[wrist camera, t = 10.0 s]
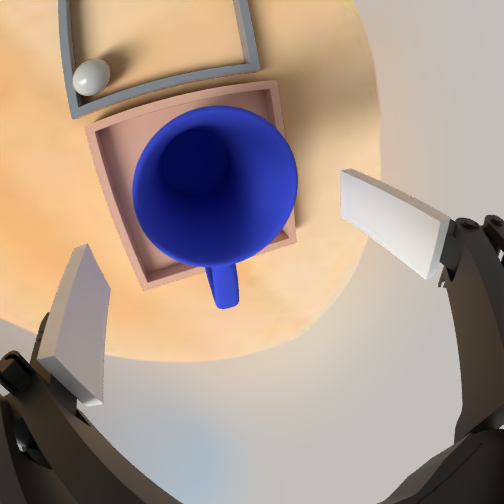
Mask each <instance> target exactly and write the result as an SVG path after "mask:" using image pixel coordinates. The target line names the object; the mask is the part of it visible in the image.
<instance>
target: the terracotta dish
mask: <svg viewBox="0 0 504 504" xmlns="http://www.w3.org/2000/svg"><path fill="white" fill-rule="evenodd" d="M216 105H224V106H233V107H238V108H243V109H246V110H248V111H251V112H253V113H255V114H257V115H259V116H261V117H263V118H264V119H266V120H267V121H268V122H270V123H271V124H272V125H273V126H274V127H275V128H276V129H277V130H278V131H279V132H280V133H281V134H282V136H283V137H284V138H285V140H286V137H285V130H284V122H283V115H282V108H281V102H280V95H279V89H278V82H277V80H269V81H259V82H251V83H243V84H236V85H229V86H223V87H217V88H212V89H206V90H201V91H196V92H192V93H187V94H183V95H179V96H175V97H171V98H167V99H163V100H159V101H156V102H152V103H149V104H145V105H142V106H139V107H136V108H133V109H129V110H126V111H124V112H121V113H118V114H115V115H112V116H109V117H107V118H104V119H102V120H99V121H96V122H94V123H91V124H89V125H87V126H84V128H85V132H86V136H87V140H88V143H89V147H90V151H91V154H92V158H93V161H94V165H95V168H96V171H97V175H98V178H99V181H100V184H101V187H102V190H103V193H104V196H105V199H106V202H107V205H108V207H109V210H110V213H111V216H112V218H113V221H114V224H115V226H116V229H117V231H118V234H119V236H120V239H121V241H122V244H123V246H124V249H125V251H126V253H127V256H128V258H129V260H130V263H131V265H132V267H133V270H134V272H135V274H136V276H137V278H138V280H139V283H140V285H141V287H142V289H143V291H145V290H149V289H152V288H155V287H158V286H161V285H165V284H168V283H171V282H174V281H177V280H180V279H184V278H187V277H190V276H193V275H196V274H199V273H203V272H206V270H205V267H197V266H191V265H188V264H184V263H181V262H179V261H176V260H174V259H172V258H170V257H169V256H167V255H166V254H164V253H163V252H161V251H160V250H159V249H158V248H157V247H156V246H155V245H154V244H153V243H152V242H151V241H150V240H149V239H148V237H147V236H146V235H145V233H144V232H143V230H142V228H141V226H140V225H139V222H138V220H137V217H136V214H135V210H134V205H133V198H132V185H133V178H134V173H135V169H136V165H137V162H138V160H139V158H140V156H141V154H142V152H143V150H144V148H145V147H146V145H147V144H148V142H149V141H150V139H151V138H152V137H153V136H154V135H155V134H156V133H157V132H158V131H159V130H160V129H161V128H162V127H163V126H164V125H165V124H167V123H168V122H170V121H171V120H172V119H174V118H176V117H178V116H179V115H181V114H183V113H186V112H188V111H191V110H194V109H197V108H201V107H206V106H216ZM294 243H297V241H296V229H295V218H294V207H293V209H292V212H291V214H290V217H289V219H288V220H287V222H286V224H285V226H284V227H283V229H282V230H281V231H280V233H279V234H278V235H277V236H276V237H275V238H274V240H273V241H272V242H271V243H270V244H268V245H267V246H266V247H265V248H264V249H262V250H261V251H259V252H258V253H256V254H255V255H253V256H256V255H259V254H262V253H265V252H269V251H272V250H275V249H278V248H281V247H284V246H287V245H290V244H294ZM253 256H251V257H253ZM249 258H250V257H249Z"/></svg>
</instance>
